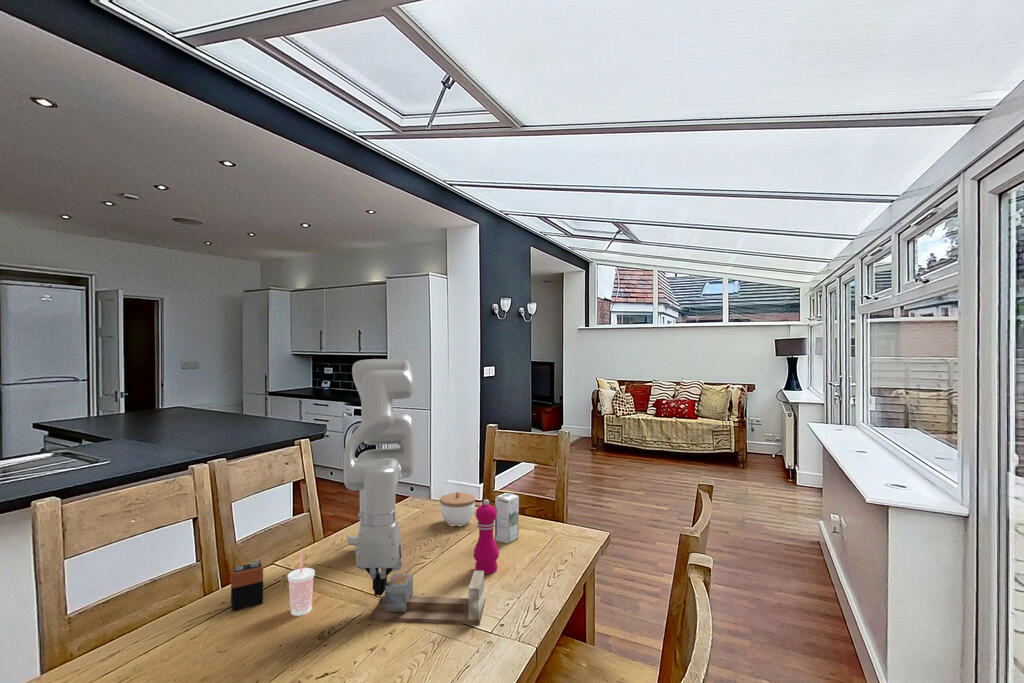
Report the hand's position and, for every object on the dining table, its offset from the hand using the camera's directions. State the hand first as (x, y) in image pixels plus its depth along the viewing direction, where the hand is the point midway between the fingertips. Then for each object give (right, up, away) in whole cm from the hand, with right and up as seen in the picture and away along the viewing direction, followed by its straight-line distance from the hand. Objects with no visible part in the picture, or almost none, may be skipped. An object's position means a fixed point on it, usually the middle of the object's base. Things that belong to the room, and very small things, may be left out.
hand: (379, 592), depth 121 cm
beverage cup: (-19, -4, -1) cm, 19 cm away
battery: (-34, -4, +3) cm, 34 cm away
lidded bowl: (+13, -5, +58) cm, 60 cm away
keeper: (+5, -3, 0) cm, 6 cm away
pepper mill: (+25, -4, +21) cm, 33 cm away
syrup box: (+30, -4, +43) cm, 53 cm away
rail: (+12, -4, -1) cm, 13 cm away
